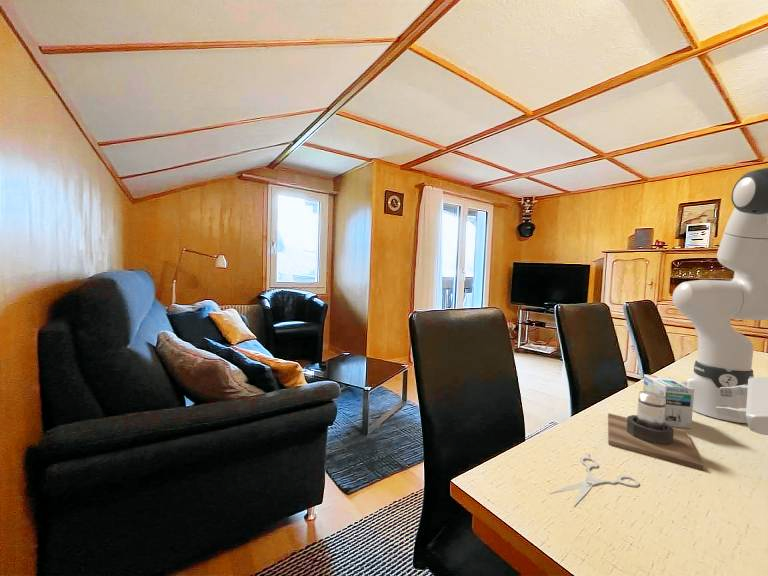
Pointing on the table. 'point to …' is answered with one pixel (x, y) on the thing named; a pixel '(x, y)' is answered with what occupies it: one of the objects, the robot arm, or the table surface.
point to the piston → (651, 410)
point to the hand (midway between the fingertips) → (718, 400)
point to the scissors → (594, 480)
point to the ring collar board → (652, 440)
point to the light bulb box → (672, 399)
